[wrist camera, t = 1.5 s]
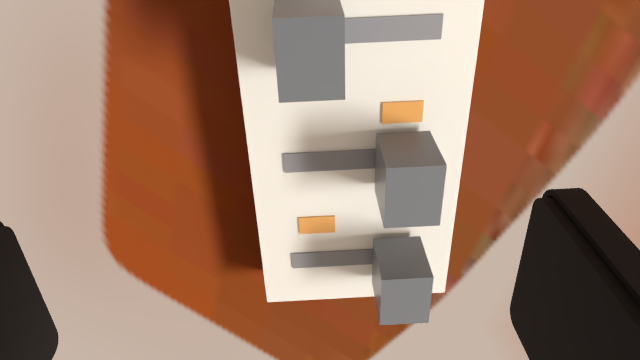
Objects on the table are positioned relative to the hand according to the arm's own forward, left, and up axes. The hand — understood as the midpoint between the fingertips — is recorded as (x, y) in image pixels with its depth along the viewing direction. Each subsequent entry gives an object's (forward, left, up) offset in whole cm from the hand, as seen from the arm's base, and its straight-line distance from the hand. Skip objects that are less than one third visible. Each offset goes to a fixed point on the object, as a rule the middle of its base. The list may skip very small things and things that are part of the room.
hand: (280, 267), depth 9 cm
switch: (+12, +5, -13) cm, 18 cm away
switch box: (+6, +3, -16) cm, 17 cm away
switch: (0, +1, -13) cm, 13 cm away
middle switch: (+6, +5, -13) cm, 15 cm away
